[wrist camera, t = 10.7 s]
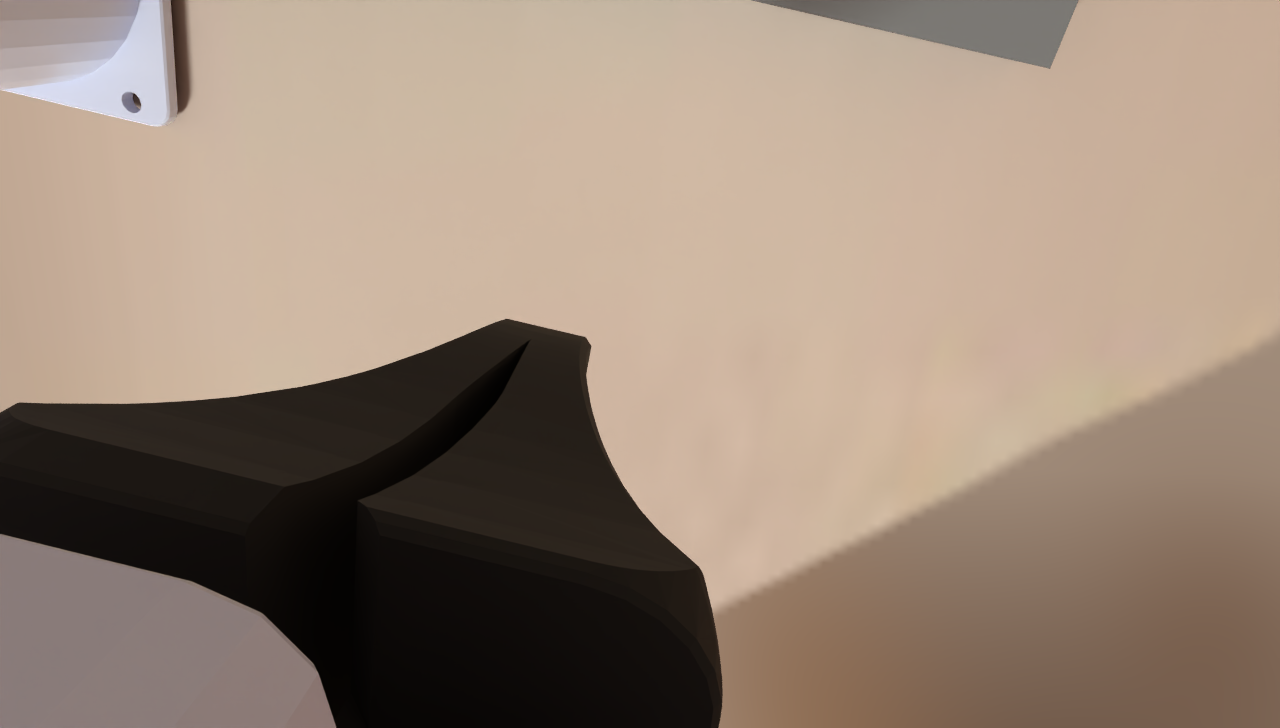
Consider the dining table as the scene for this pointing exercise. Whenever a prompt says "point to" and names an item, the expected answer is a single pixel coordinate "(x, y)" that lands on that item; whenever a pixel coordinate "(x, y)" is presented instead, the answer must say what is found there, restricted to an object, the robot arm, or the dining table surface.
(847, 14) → the console
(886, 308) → the dining table surface
